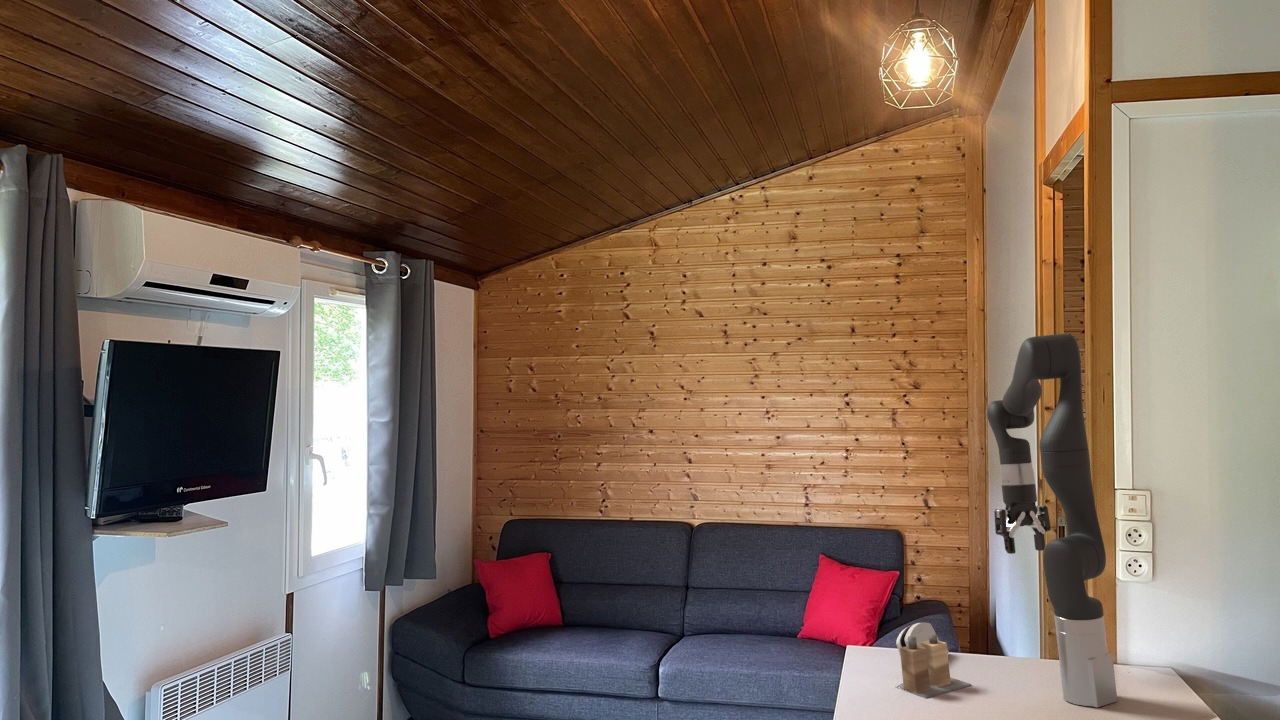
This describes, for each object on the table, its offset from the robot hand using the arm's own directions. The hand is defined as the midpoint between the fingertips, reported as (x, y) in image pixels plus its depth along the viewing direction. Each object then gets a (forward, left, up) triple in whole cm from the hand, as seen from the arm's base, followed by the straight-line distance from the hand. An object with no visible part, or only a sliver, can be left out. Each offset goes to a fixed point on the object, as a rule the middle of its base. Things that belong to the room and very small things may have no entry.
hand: (1025, 551), depth 215 cm
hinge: (+17, +20, -26) cm, 37 cm away
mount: (+2, +31, -26) cm, 40 cm away
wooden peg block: (+2, +29, -25) cm, 38 cm away
